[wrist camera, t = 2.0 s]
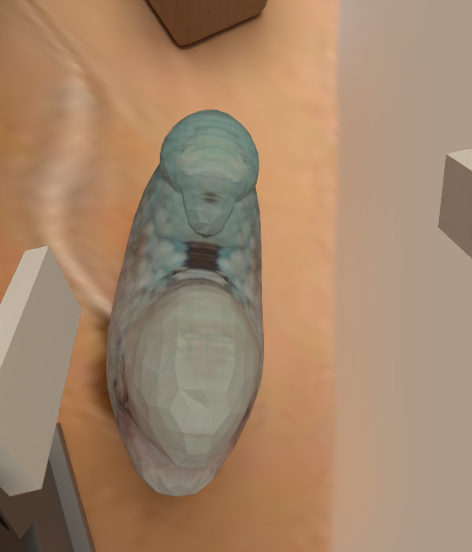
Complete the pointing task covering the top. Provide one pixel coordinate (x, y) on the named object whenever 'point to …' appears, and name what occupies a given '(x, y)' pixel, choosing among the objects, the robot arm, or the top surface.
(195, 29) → the wooden block
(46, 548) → the bearing block
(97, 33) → the top surface
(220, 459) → the grey rounded bird shape
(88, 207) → the top surface
